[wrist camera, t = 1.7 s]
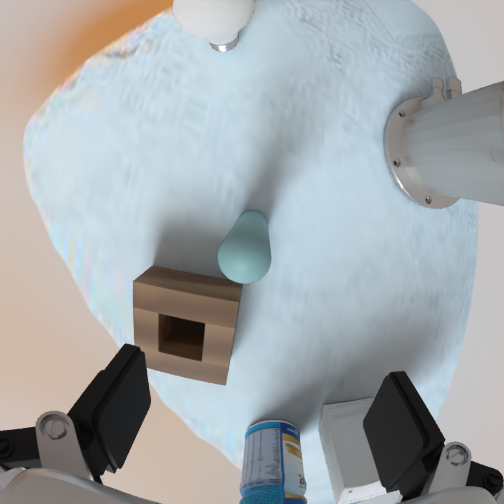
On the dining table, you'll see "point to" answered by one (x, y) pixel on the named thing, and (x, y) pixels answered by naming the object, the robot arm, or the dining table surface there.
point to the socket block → (186, 322)
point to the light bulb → (214, 20)
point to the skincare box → (349, 451)
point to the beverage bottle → (272, 465)
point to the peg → (246, 249)
